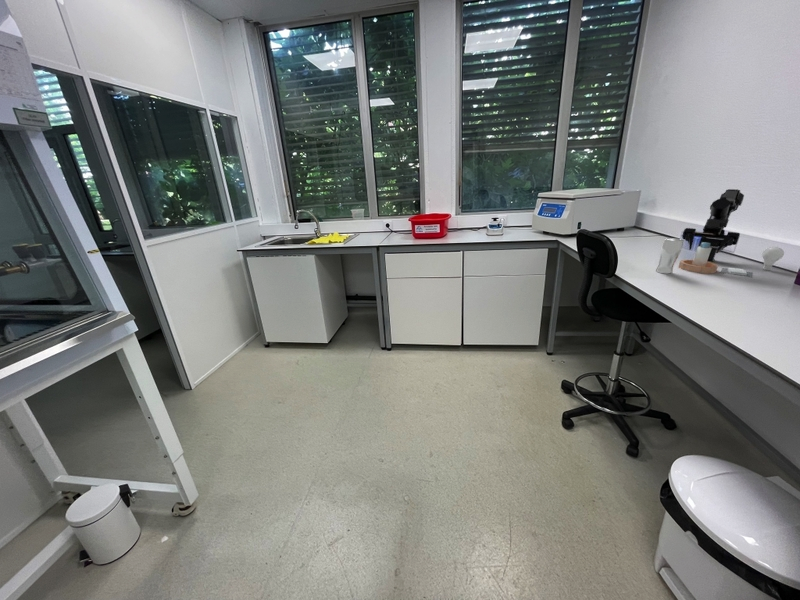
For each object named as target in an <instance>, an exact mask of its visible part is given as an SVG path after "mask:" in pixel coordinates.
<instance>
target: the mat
mask: <svg viewBox="0 0 800 600" xmlns="http://www.w3.org/2000/svg"><path fill="white" fill-rule="evenodd" d="M745 271H746V270H745ZM720 273H721V274H727V275H733V276H739V277H745V278H746V277H747V278H753V276H754V275H753V274H754V271H746V273H747V275H738V274H730V272H729V271H728V268H725V267H722V268H721V270H720Z"/></svg>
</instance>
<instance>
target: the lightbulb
mask: <svg viewBox="0 0 800 600" xmlns="http://www.w3.org/2000/svg"><path fill="white" fill-rule="evenodd" d="M784 254H785V252H784V249H782V248H781V247H778V246H770V247H767V248H765V249H764V250H763V251H762V254H761V257H762V258H763V266H762V267H761V270H762V271H765V272H766V271H768V272H769V271H771V269H772V267H773V265H774V264H775V263H776V262H778V261H779V260H780V259H782V258H783V257H784Z"/></svg>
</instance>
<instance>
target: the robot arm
mask: <svg viewBox="0 0 800 600" xmlns="http://www.w3.org/2000/svg"><path fill="white" fill-rule="evenodd" d="M744 198H745V195H744V194H743V193H742V192H741V189H733V188H730V189H726V190H725V191H724V192H723V193H721V195H720V197H719V198H717V199H715V200H714V201H713V202H712V204H710V206H709V207H710V208H709V210H710V212H709V214H710V215H709V217H708V218H707V220H706V223H705V225H704V226H703V228H702V231H697V229H696V228H691V227H686V228H684V230H683V232H682V240H684V241H686V242H687V243H688V249H689V251H691V250H692V248H693V243H694V238H695V237H700V240H699V243H698V246H701V243H702V242H707V243H711V244H710V247H711V248H712V249H711V252H710V255H709V257H708V260H707V262H710V263H714V262H715V256H716V254H719V253H720V252H721V251H723V250H724V249H725V248H727V247H728V246H729V247H731V246H734V245H737V244H738V241H739V239H740V236H741V233H740V232H736V231H728V232H727V233H725V228H727V227H728V226H727V225H728V224H729V221H730V219H729V218H730V216H731V214H732V213H733V212H736V211H737V210H738V208H739V206H742V204H743V201H744Z"/></svg>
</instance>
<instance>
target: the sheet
mask: <svg viewBox="0 0 800 600" xmlns="http://www.w3.org/2000/svg"><path fill="white" fill-rule="evenodd" d="M727 269H728V271H729V272H730V274H729V275H732V274H738V275H747V273H746V270H745V269H743V268H737V267H728V268H727ZM738 275H737V276H738Z"/></svg>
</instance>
